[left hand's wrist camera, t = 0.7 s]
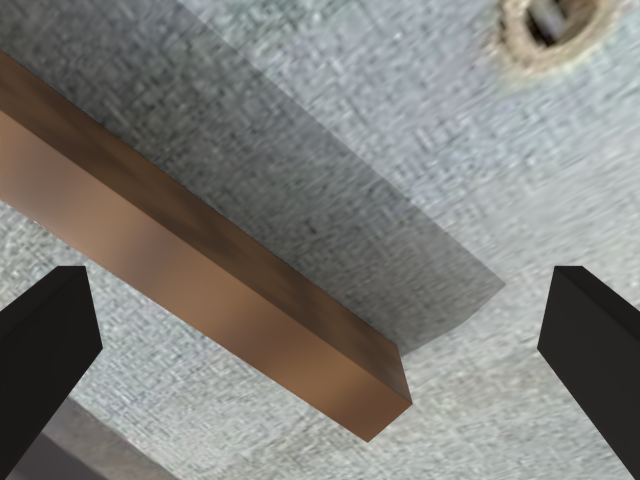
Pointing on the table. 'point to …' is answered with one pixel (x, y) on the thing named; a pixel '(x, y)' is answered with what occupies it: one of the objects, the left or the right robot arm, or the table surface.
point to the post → (189, 257)
